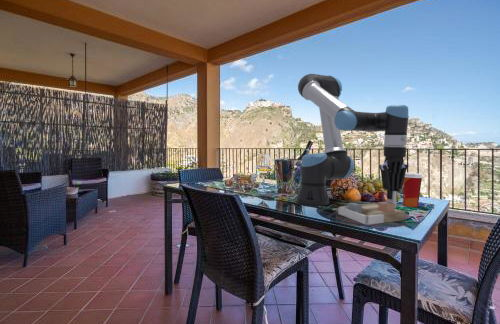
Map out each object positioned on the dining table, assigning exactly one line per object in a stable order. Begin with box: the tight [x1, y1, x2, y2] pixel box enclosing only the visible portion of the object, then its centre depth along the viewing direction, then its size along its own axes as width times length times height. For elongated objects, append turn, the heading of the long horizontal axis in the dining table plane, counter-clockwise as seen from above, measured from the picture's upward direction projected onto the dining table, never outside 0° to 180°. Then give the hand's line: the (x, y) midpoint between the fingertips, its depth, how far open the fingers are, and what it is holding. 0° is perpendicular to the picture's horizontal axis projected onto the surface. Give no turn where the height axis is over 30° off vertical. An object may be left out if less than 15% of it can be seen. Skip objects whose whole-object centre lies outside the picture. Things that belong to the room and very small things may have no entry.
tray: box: [337, 205, 384, 226], centre depth 103 cm, size 15×8×3 cm, turn 21°
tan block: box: [378, 201, 396, 212], centre depth 103 cm, size 4×4×3 cm
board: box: [361, 202, 407, 224], centre depth 107 cm, size 15×11×3 cm
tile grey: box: [347, 202, 362, 214], centre depth 107 cm, size 4×4×3 cm
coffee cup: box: [402, 172, 423, 208], centre depth 124 cm, size 8×8×15 cm
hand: (391, 207), depth 104 cm, fingers closed
